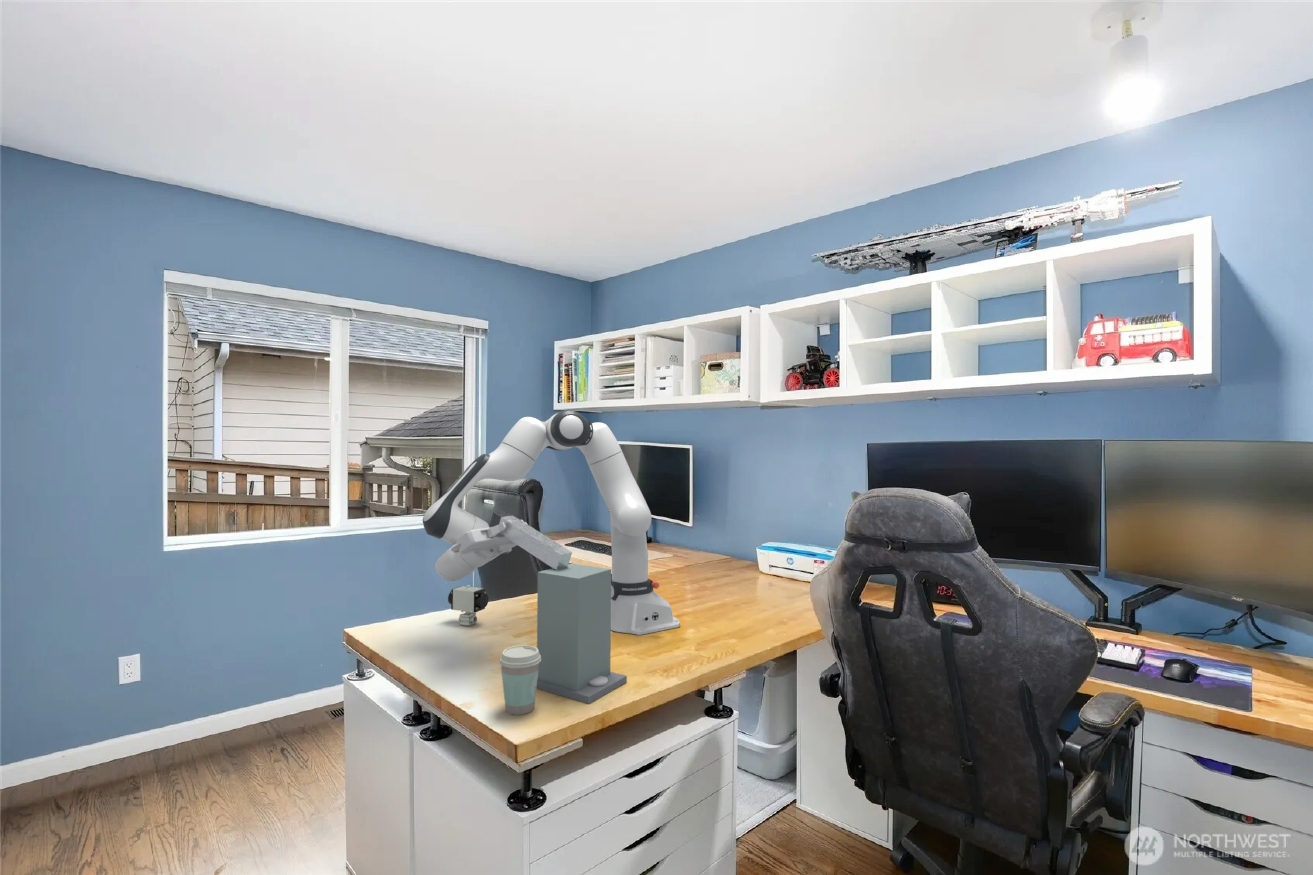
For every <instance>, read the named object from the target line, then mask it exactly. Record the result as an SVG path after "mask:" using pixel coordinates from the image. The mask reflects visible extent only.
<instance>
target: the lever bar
mask: <svg viewBox="0 0 1313 875" xmlns="http://www.w3.org/2000/svg"><path fill="white" fill-rule="evenodd" d="M521 520H522V519H519V518H518V517H516V516H514V515H513V514H511V513H509V512H508V511H506V510H499V511H494V512H492V516H491V520H490V524H489V527H494V526H496V525H499V524H500V523H502V522H507V523H508V526H509V528H508V529H506V530H505V531H502V532H500V534H501V535H503V536H504V537H506V538H507V539H509V540H511V541H512V542H514V543H515V544H517V545H516V546H518V547H520V548H521V549H523V550H525V551H526V552H527V553H529V554H531V555H532V556H534V558H536V559H538V560H539V561H541V562H543V563H544V564H545V565H547V566H548V567H550V568H551V569H552V568H554V569H555V570H559V569H563V568H567V567H568V564H570V560H571V557H572V554H573V551H571V550H570V549H568V548H567V547H565V546H564V545H561V544H560V543H558V542H557V541H555V540H553V539H552V538H550V537H549V536H547V535H546V534H543V533H542V532H540V531H539V530H537V529H535V528H534V527H532V526H531V525H530V524H528V523H527V522H526V523H527V524H528V525H527V524H526V523H524V522H525V521H524V520H523V521H521Z"/></svg>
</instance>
